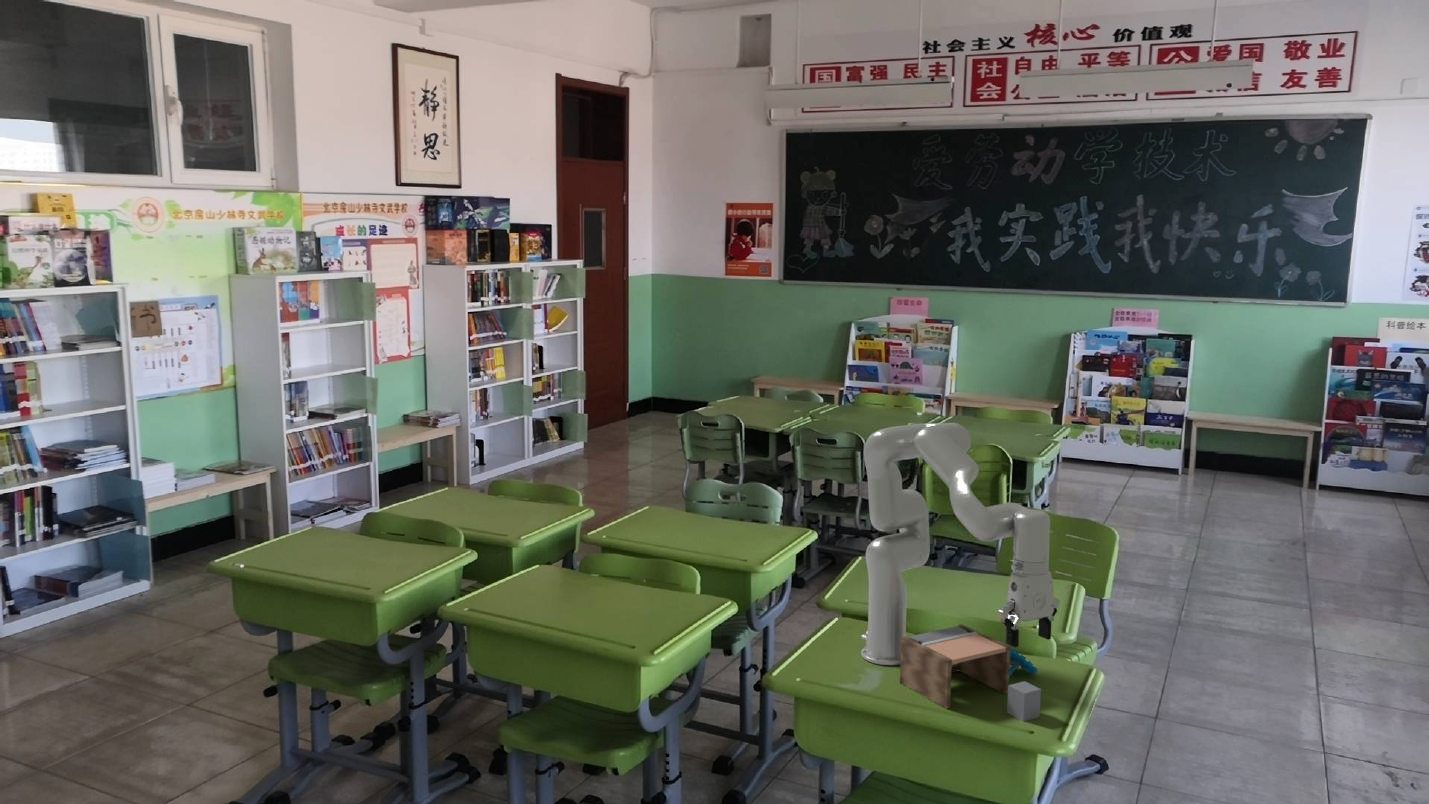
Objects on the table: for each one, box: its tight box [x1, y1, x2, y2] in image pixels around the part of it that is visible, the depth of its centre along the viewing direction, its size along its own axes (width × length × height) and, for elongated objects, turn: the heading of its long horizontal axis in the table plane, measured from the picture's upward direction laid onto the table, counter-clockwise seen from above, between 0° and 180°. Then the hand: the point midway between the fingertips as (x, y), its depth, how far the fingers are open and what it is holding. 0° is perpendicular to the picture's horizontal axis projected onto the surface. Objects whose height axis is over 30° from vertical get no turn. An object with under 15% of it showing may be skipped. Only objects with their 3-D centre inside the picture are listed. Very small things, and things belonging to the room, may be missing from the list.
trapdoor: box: [908, 625, 1006, 665], centre depth 249 cm, size 16×16×4 cm
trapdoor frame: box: [899, 624, 1012, 710], centre depth 250 cm, size 17×19×12 cm
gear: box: [1009, 648, 1038, 678], centre depth 259 cm, size 11×6×10 cm
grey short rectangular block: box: [1006, 681, 1042, 722], centre depth 236 cm, size 5×5×6 cm
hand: (1028, 641), depth 234 cm, fingers open, 9 cm apart
